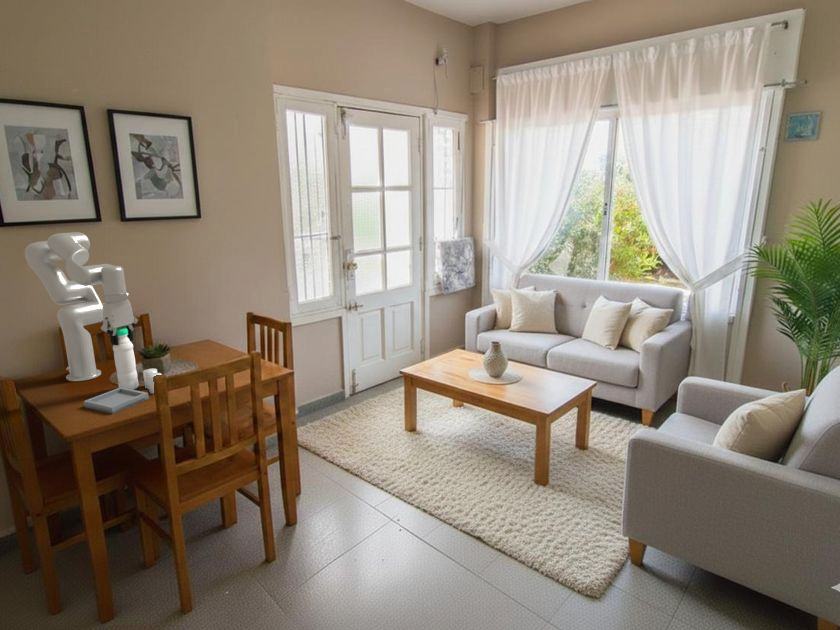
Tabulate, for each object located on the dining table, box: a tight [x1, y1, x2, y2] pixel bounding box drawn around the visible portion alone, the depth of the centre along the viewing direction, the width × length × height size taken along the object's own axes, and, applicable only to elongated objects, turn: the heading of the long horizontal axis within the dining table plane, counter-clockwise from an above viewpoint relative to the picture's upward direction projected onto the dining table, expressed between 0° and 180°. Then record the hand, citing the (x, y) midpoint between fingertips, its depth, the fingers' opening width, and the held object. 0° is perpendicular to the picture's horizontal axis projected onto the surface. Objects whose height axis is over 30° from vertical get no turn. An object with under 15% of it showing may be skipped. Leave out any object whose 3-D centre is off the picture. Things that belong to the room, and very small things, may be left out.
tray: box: [83, 387, 150, 415], centre depth 193 cm, size 15×15×2 cm
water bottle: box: [112, 327, 140, 390], centre depth 204 cm, size 7×7×25 cm
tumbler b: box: [142, 367, 158, 390], centre depth 208 cm, size 5×5×7 cm
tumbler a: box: [147, 372, 163, 395], centre depth 203 cm, size 5×5×7 cm
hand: (122, 342), depth 202 cm, fingers closed on water bottle, 5 cm apart
